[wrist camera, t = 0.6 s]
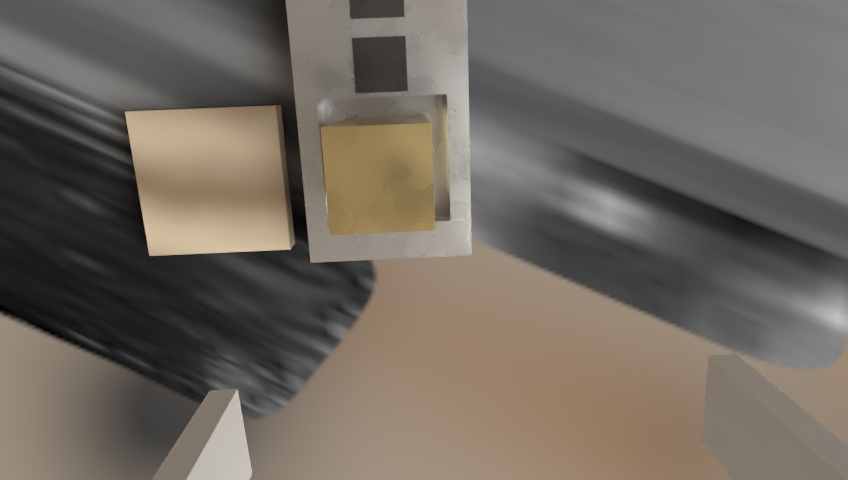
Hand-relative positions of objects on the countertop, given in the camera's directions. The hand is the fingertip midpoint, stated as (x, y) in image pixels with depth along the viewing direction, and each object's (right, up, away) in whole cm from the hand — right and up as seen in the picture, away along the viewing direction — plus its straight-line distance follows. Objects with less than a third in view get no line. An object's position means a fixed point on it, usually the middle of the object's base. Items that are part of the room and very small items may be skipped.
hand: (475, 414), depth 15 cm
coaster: (-15, +9, +20) cm, 27 cm away
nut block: (-4, +10, +20) cm, 23 cm away
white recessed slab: (-4, +13, +20) cm, 24 cm away
